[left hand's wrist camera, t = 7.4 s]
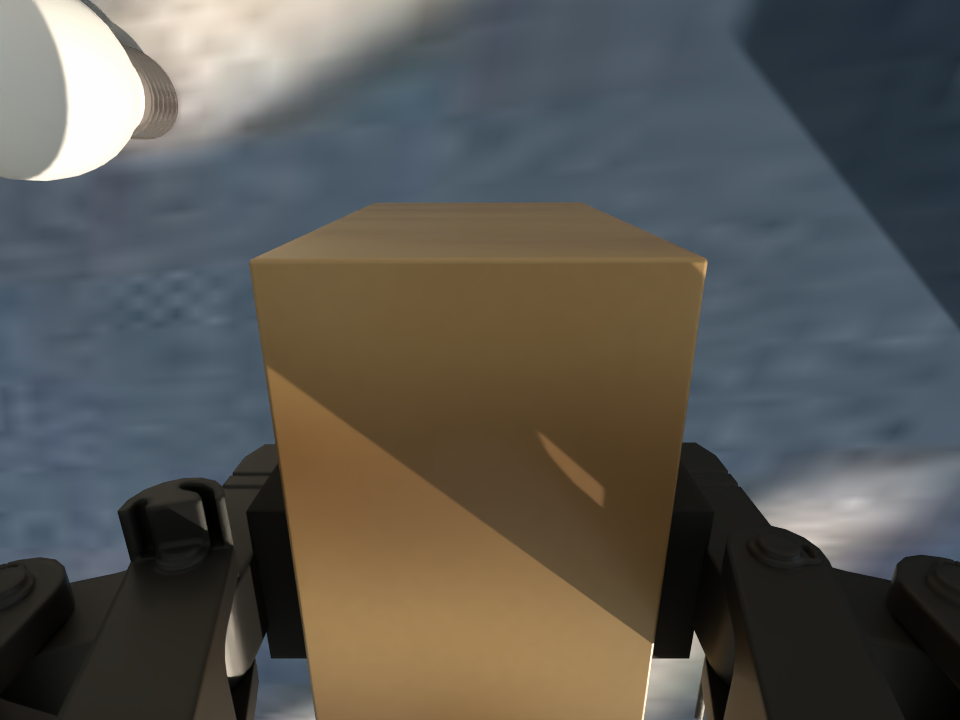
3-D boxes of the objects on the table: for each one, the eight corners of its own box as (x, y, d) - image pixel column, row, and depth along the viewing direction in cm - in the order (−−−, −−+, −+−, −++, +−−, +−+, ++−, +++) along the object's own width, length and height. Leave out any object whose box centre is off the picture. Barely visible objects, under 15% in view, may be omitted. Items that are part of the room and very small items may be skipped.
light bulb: (228, 68, 25) (52, 7, 15) (174, 201, 27) (-14, 232, 17) (79, -25, 24) (-229, -163, 13) (34, 122, 26) (-265, 102, 15)
